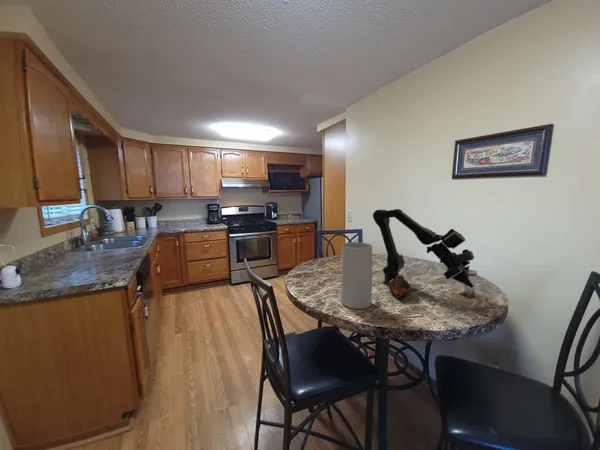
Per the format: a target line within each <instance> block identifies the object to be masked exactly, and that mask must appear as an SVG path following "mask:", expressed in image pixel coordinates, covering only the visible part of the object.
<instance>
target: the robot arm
mask: <svg viewBox="0 0 600 450" xmlns="http://www.w3.org/2000/svg"><path fill="white" fill-rule="evenodd" d="M372 217H373V221H374V222H375V224H376V225H377V226H378V227H379V230H380V232H381V236H382V237H381V238H382V240H383V243H384V246H385V251H386V253H387V254H386V255H387V258H386V265H387V266H385V267H384V268H383V269H382V272H383V274H384V281H382V284H384V285H386V286H388V283H389V282H390V281H391V280H392V279H394V278H396V276H398V275H400V272H401V270H402V269H404V266H405V263H406V262H405V259H404V256H403V254H399V252H398V250H397V248H396V245H395V244H396V243H395V241H394V237H393V235H392V231H391V227H390V222H391V219H390V218H395V219H396V220H398V221H399V222H400V223H402V224H403V225H404V226H405V227H406V228H407V229H409V230H410V232H412V233H413V234H414V235H415V237H416V239H417V240H419V242H420V243H421V244H422V245H425V246H426V254H429V253H431V252H432V254H434V256H436V257H437V259H439V263H440V264H443V266H445V267H446V268H447V269H446V271H444V273H443V276H444V278H446V280H449V279H451V280H454V281H457V282H459V283H461V284H463V285H464V284H465V285H467V286H469V287H471V288H472V287H473V284H472V283H471V281H470V280H469V279H468V277H467V276H466V275H465V270H470V266H471V265H470V264H471V261H473V260H474V259H475V257H474V253H473V252H472V250H469V249H467V248H466V249H463V250H462V252H461V253H456V252H452V251H451V250H450V249H453V250H454V249H456V248H457V247H459V246H460V245H461V244H462V243H463V244H464V242H466V239H465V237H464V236H463V234H461V233H459V232H458V231H457V230H455V229H454V228H450V230H448V232H446V233H445V234H444V235H443V234H441V235H440V234H437V233H436V232H435V231H433V230H431V229H429V228H427V227H424V226H422V225H421V224H419V223H418V222H417V221H415V220H414V219H412V218H411V217H410V216H409V215H408V214H406V213H405V212H404V211H403V210H402V209H400V208H394V209H391V210H386V209H376V210H375V211H374V212H373V213H372ZM438 242H439V243H438ZM430 245H431V246H430Z"/></svg>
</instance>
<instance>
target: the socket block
mask: <svg viewBox="0 0 600 450" xmlns="http://www.w3.org/2000/svg"><path fill="white" fill-rule="evenodd" d="M463 291H464V290H461V291H451V292H450V301H451V302H453V303H455V304H457V305H460V306H462V307H463V308H466V309H468V310H475V309H481V308H488V307H489V298H488V297H486V296H483V295H481V294H478V293H477V292H475V298H473V299H469V298H466V297H464V296H463Z"/></svg>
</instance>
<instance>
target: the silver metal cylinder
mask: <svg viewBox="0 0 600 450" xmlns="http://www.w3.org/2000/svg"><path fill="white" fill-rule="evenodd" d="M465 275H466V276H467V277H468V279H469V280H470V281H471V283H472V284H473V287H472V288H471V287H469V286H467V285H465V284H463V290H462V291H463V296H464V297H466V298H469V299H473V298H475V293H476V286H477V275H478V271H476V270H475V269H469V270H465Z"/></svg>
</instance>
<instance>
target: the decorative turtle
mask: <svg viewBox="0 0 600 450" xmlns="http://www.w3.org/2000/svg"><path fill="white" fill-rule="evenodd" d="M411 287H412V286H411V284H410V283H409V281H408V280H406V279H405V277H404V275H402V274H399V275H398V276H396V278H394V279H392V280H391V281H390V282H389V283H388V285H387V288H388V291H389V292H390V294H391V295H392V296H395V297H396V298H401V297H403V298H406V297H407V296H408V295H409V294H410V291H411Z"/></svg>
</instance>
